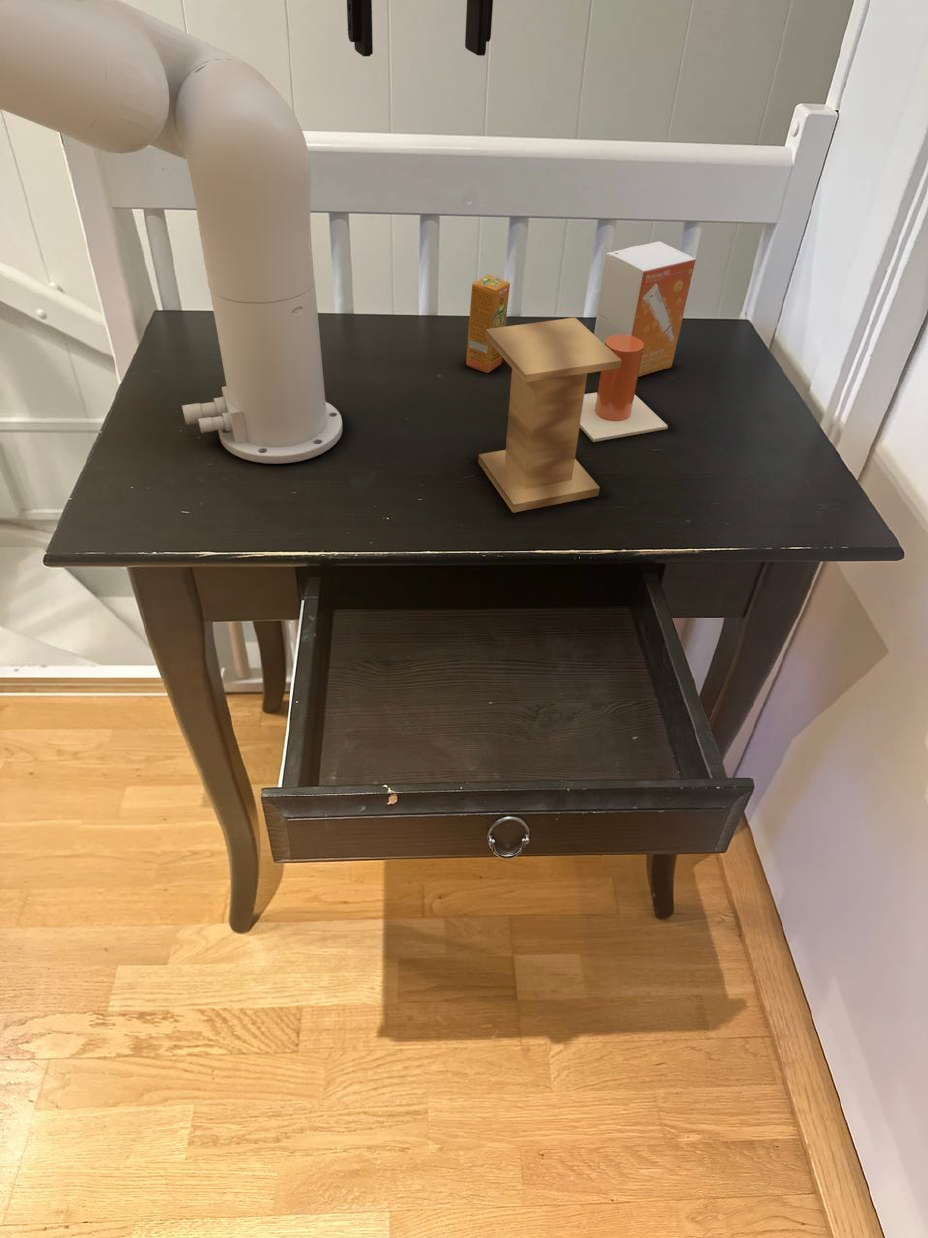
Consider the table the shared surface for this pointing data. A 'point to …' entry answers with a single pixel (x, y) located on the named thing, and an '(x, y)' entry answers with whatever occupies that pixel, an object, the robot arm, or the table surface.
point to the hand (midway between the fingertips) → (420, 52)
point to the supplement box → (486, 321)
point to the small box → (645, 299)
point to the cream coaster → (605, 429)
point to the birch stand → (545, 412)
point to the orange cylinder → (619, 379)
